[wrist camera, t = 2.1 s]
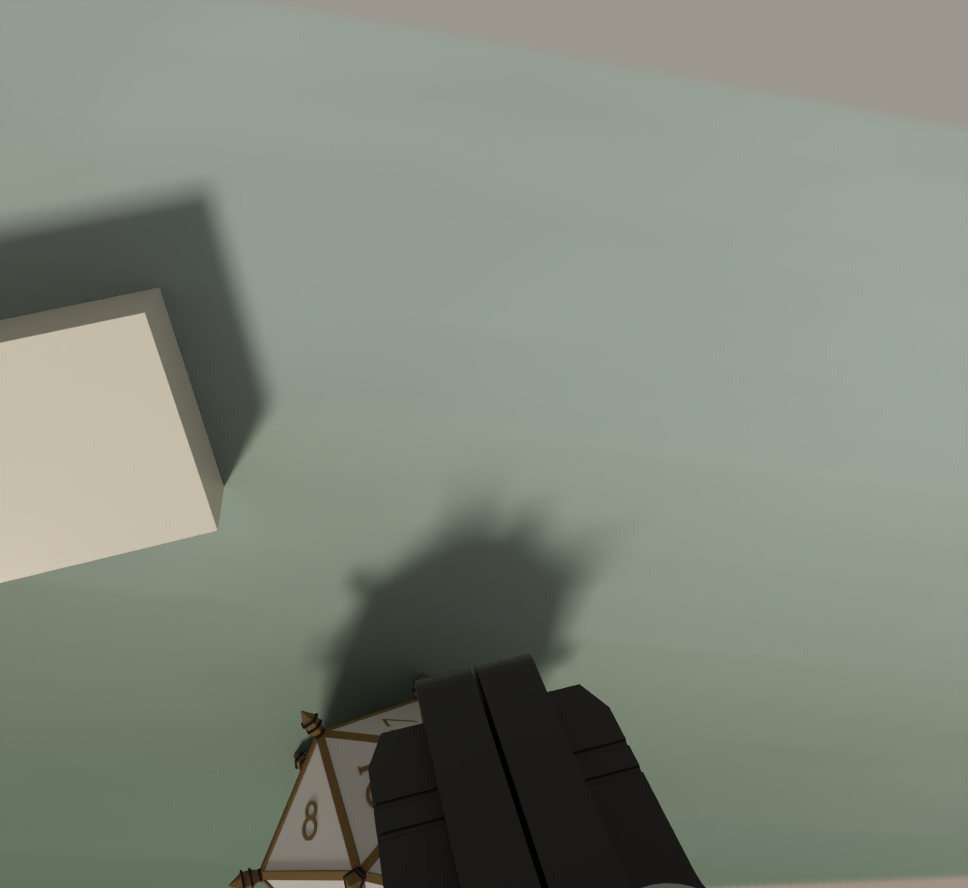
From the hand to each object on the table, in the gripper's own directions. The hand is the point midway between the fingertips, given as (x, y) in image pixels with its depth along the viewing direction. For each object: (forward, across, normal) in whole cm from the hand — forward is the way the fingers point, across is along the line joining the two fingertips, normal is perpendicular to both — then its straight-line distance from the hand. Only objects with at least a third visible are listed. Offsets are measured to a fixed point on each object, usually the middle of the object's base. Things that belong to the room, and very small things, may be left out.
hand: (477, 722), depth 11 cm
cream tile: (+16, +8, 0) cm, 18 cm away
